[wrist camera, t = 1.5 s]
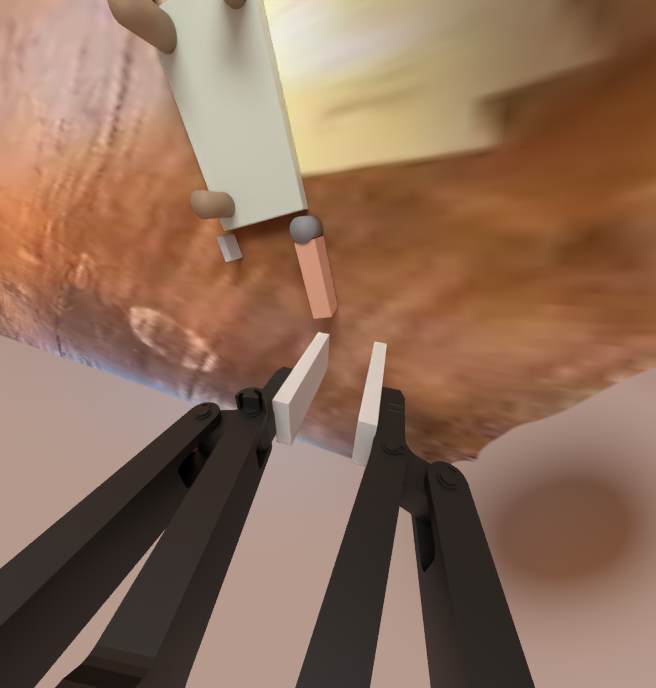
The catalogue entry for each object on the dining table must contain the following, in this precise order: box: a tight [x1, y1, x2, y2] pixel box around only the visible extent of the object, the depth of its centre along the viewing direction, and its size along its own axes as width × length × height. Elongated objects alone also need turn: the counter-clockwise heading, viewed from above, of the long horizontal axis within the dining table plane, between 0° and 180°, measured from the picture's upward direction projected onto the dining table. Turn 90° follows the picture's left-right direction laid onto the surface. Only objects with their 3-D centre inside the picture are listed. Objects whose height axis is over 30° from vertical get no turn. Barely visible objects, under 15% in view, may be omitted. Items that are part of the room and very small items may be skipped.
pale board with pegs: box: [108, 0, 308, 262], centre depth 23 cm, size 22×12×6 cm, turn 12°
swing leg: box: [290, 216, 338, 319], centre depth 28 cm, size 11×3×4 cm, turn 12°
